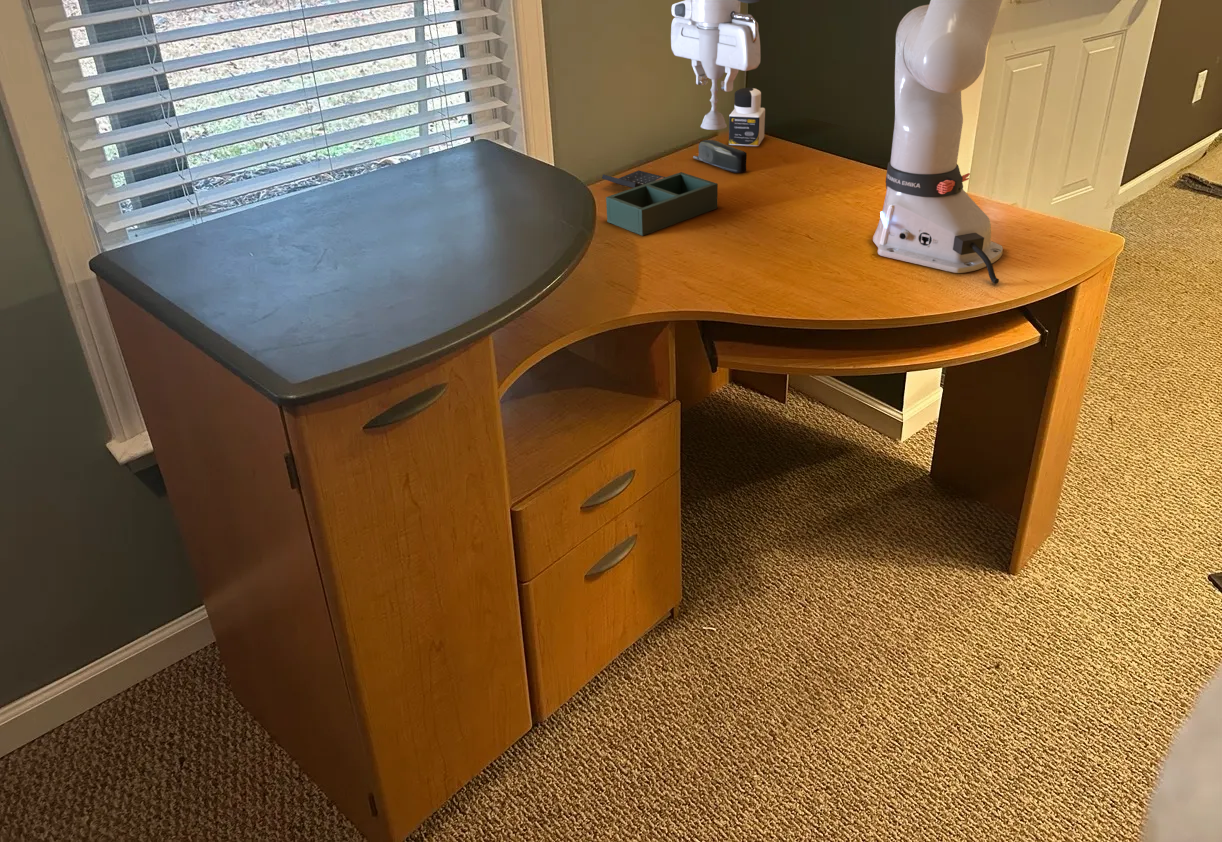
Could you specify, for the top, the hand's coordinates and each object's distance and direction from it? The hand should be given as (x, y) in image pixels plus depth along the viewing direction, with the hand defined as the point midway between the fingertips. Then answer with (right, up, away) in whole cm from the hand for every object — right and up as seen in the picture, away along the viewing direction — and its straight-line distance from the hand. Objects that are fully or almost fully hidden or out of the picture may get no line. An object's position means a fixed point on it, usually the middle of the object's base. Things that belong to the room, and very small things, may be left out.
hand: (714, 87), depth 184 cm
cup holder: (-9, -22, +11) cm, 26 cm away
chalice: (0, -6, +4) cm, 7 cm away
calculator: (-14, -12, +26) cm, 32 cm away
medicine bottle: (+13, +4, +49) cm, 50 cm away
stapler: (+5, -6, +35) cm, 35 cm away
